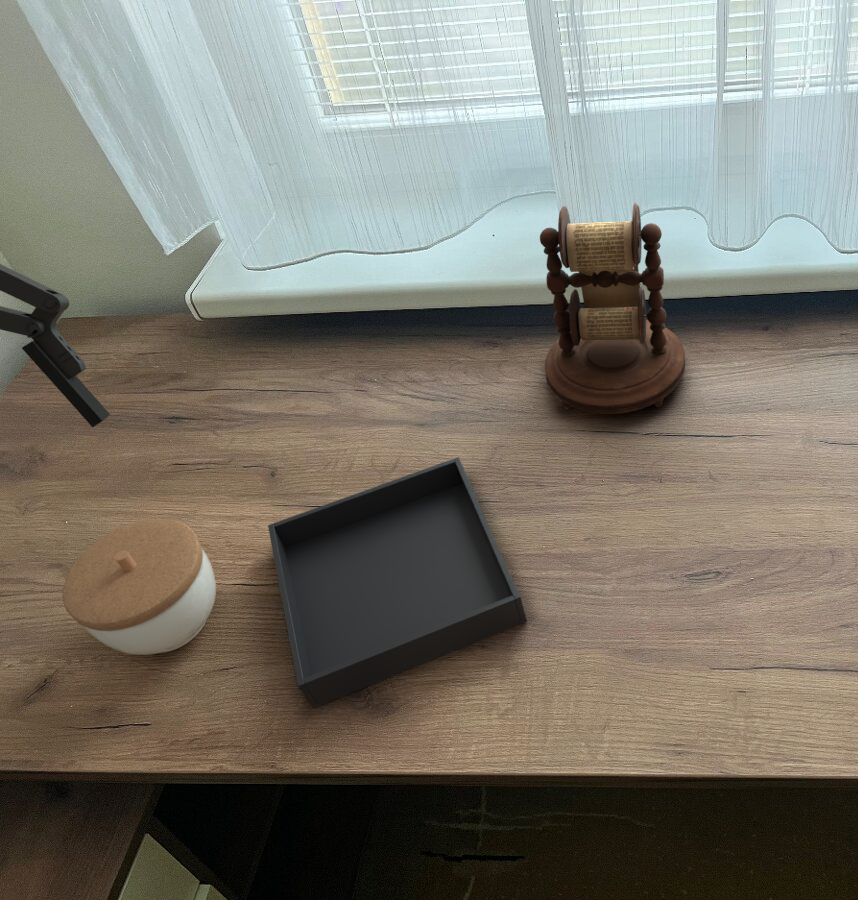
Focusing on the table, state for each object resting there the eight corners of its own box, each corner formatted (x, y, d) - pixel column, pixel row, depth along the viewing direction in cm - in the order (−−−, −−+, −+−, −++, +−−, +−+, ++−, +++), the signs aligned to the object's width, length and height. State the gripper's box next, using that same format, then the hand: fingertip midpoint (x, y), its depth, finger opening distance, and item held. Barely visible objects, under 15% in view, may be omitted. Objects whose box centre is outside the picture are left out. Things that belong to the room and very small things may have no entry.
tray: (312, 708, 68) (297, 686, 66) (281, 548, 81) (267, 525, 78) (527, 621, 72) (520, 597, 70) (466, 481, 85) (458, 456, 82)
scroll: (687, 333, 98) (680, 165, 84) (684, 424, 87) (675, 249, 73) (557, 336, 100) (529, 173, 86) (538, 425, 89) (504, 256, 75)
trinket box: (255, 577, 79) (213, 508, 72) (198, 683, 71) (144, 617, 65) (150, 568, 81) (99, 500, 74) (83, 671, 73) (20, 605, 67)
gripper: (-39, 103, 57) (180, 368, 65) (-408, 317, 54) (-131, 572, 61) (-86, 81, 50) (165, 380, 58) (-513, 324, 47) (-187, 612, 54)
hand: (13, 479), depth 59 cm, fingers open, 13 cm apart
